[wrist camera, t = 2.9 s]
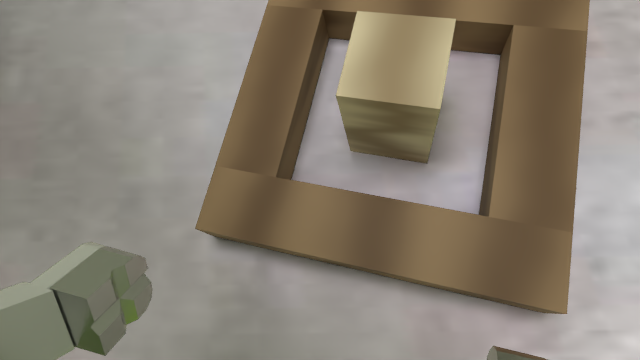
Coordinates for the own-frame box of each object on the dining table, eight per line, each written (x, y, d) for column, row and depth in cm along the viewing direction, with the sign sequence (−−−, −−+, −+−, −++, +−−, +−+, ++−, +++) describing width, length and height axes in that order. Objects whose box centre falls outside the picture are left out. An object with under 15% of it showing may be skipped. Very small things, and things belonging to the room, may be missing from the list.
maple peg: (350, 151, 27) (336, 95, 20) (365, 85, 28) (357, 11, 21) (426, 163, 25) (440, 109, 18) (439, 94, 27) (456, 18, 20)
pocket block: (216, 236, 26) (195, 228, 24) (291, -10, 31) (281, -41, 29) (544, 312, 22) (566, 313, 19) (570, 9, 27) (591, -25, 24)
